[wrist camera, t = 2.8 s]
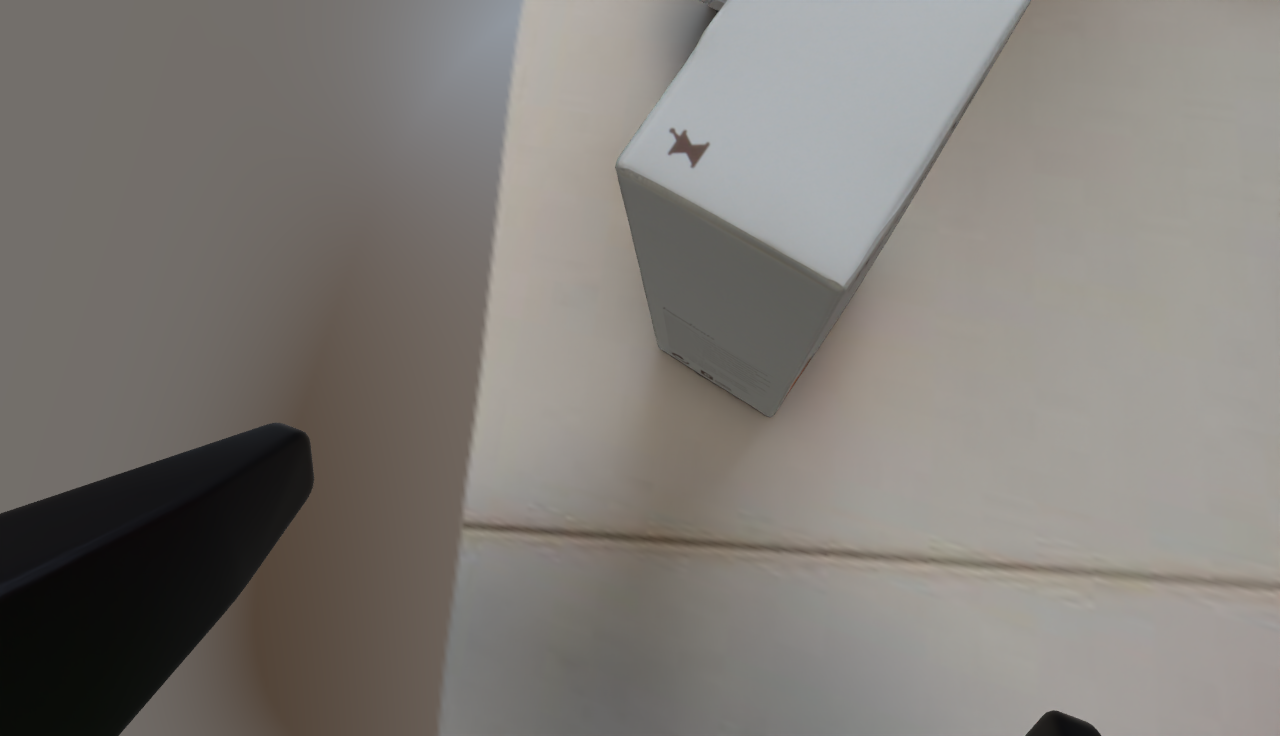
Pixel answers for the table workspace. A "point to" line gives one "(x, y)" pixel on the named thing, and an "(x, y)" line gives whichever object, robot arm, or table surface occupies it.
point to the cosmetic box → (792, 170)
